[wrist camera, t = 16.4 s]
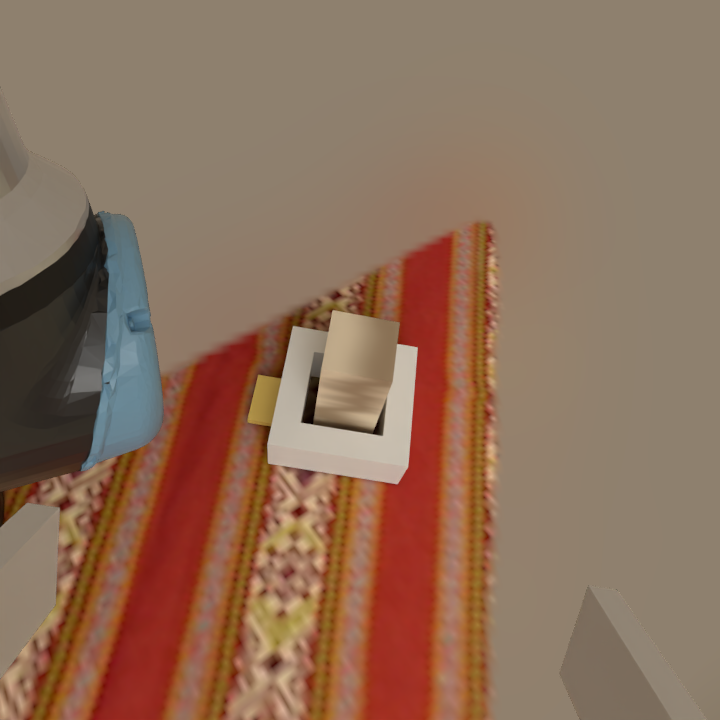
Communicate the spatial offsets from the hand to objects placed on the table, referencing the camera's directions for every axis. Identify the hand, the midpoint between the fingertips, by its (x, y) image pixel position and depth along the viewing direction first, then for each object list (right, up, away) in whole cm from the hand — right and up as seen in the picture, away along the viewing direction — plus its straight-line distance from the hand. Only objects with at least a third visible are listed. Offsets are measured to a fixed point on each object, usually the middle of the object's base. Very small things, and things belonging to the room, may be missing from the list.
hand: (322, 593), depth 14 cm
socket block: (-2, +2, +32) cm, 32 cm away
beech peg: (0, +1, +32) cm, 32 cm away
